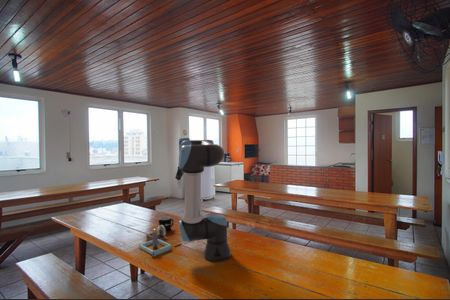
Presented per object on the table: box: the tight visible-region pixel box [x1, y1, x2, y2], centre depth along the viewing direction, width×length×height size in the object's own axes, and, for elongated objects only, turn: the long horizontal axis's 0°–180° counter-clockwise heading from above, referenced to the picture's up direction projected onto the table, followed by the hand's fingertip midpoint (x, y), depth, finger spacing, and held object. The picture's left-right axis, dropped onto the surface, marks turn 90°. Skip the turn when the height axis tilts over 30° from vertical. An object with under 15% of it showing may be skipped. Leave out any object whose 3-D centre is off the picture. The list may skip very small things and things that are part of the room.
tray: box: [138, 239, 173, 258], centre depth 153 cm, size 16×13×3 cm
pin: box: [151, 227, 159, 250], centre depth 153 cm, size 3×3×12 cm
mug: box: [158, 215, 174, 233], centre depth 186 cm, size 12×9×10 cm
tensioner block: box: [145, 224, 167, 242], centre depth 168 cm, size 8×12×9 cm, turn 137°
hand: (185, 189), depth 177 cm, fingers open, 13 cm apart
